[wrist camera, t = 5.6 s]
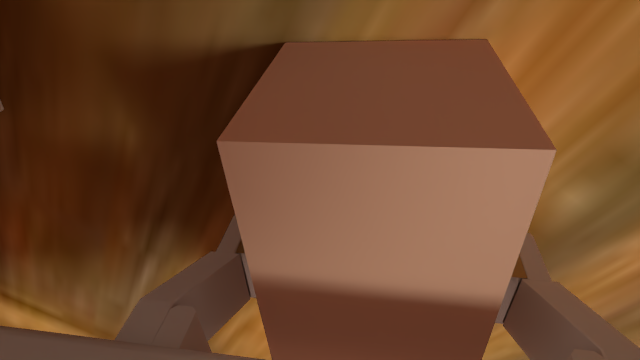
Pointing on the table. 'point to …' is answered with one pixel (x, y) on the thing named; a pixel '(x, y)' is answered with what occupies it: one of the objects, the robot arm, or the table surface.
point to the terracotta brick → (383, 196)
